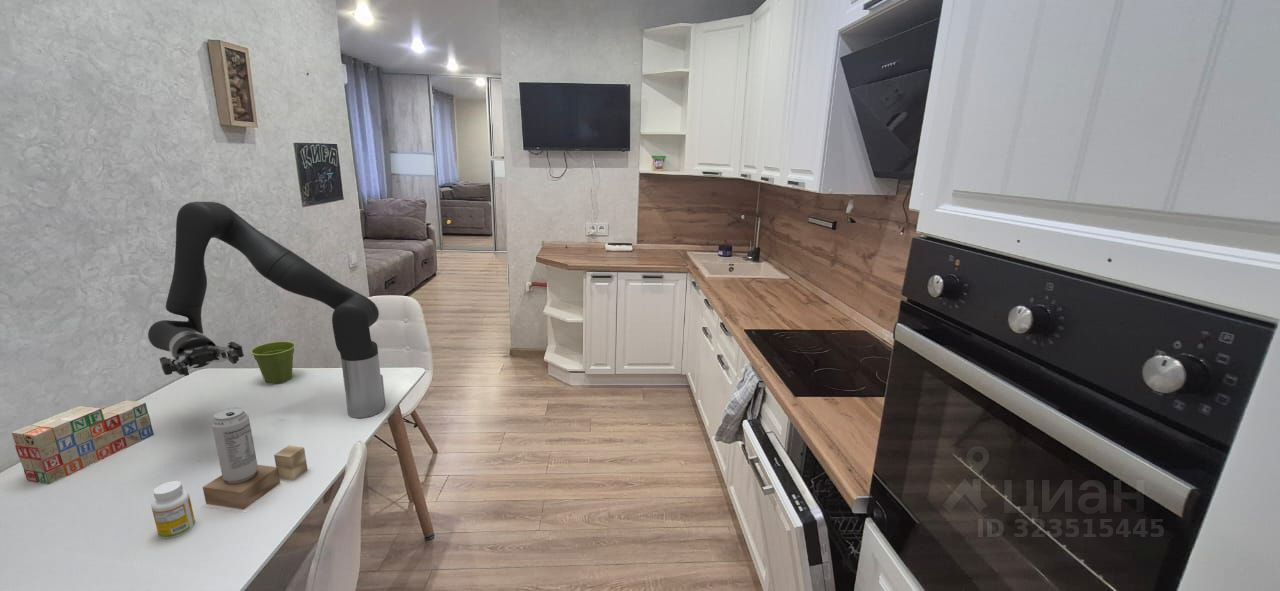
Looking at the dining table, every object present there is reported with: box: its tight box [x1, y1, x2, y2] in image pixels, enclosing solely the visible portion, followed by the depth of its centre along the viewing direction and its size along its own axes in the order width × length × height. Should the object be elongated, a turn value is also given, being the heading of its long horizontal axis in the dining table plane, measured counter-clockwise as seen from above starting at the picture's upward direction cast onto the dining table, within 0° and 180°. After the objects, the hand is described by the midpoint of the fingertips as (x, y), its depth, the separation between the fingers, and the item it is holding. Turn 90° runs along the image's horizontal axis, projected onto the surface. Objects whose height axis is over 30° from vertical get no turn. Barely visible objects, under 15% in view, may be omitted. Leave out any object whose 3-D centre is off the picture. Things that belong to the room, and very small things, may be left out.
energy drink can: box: [211, 407, 259, 483], centre depth 107 cm, size 6×6×15 cm
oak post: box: [273, 444, 308, 481], centre depth 116 cm, size 4×4×6 cm
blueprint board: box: [202, 480, 287, 513], centre depth 111 cm, size 16×11×1 cm
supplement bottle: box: [151, 480, 196, 539], centre depth 98 cm, size 5×5×10 cm
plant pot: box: [249, 340, 297, 385], centre depth 163 cm, size 12×12×11 cm
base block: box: [202, 464, 281, 509], centre depth 109 cm, size 9×9×4 cm
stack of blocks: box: [11, 400, 154, 485], centre depth 120 cm, size 21×6×12 cm, turn 171°
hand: (211, 365), depth 113 cm, fingers open, 8 cm apart
